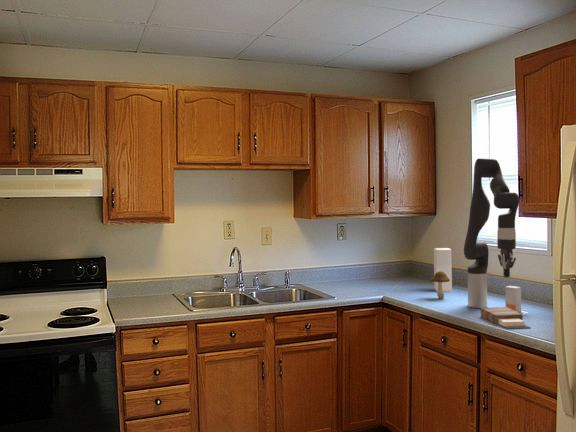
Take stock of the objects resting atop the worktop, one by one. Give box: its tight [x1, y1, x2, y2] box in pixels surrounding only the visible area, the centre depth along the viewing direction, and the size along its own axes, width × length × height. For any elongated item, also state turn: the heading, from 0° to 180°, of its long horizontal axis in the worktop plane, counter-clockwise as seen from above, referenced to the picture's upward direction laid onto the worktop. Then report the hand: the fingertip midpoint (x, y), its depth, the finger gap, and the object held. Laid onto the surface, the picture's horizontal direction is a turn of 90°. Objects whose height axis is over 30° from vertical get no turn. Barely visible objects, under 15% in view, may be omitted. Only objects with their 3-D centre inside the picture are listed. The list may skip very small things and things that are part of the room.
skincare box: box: [504, 285, 522, 313], centre depth 267 cm, size 6×4×12 cm
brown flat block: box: [480, 306, 524, 325], centre depth 250 cm, size 16×12×4 cm
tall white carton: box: [433, 247, 453, 293], centre depth 328 cm, size 9×9×25 cm
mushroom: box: [429, 272, 450, 300], centre depth 303 cm, size 9×11×15 cm
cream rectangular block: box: [497, 318, 526, 328], centre depth 239 cm, size 6×9×2 cm, turn 92°
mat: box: [498, 324, 531, 330], centre depth 238 cm, size 8×10×1 cm
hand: (506, 276), depth 244 cm, fingers closed
